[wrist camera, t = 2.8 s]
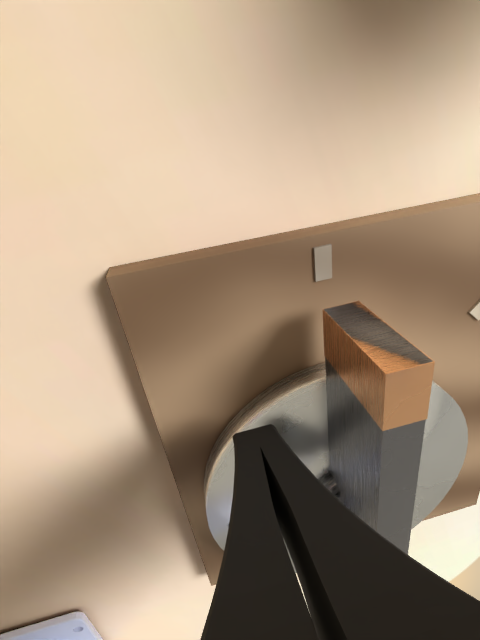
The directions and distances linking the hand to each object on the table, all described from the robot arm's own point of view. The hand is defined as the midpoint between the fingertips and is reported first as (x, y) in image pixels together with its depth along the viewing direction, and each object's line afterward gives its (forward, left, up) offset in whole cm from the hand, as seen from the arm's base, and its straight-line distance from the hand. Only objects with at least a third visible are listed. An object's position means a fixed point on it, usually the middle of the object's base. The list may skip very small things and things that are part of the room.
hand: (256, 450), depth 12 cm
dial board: (-3, -5, -4) cm, 7 cm away
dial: (-4, -4, -2) cm, 6 cm away
